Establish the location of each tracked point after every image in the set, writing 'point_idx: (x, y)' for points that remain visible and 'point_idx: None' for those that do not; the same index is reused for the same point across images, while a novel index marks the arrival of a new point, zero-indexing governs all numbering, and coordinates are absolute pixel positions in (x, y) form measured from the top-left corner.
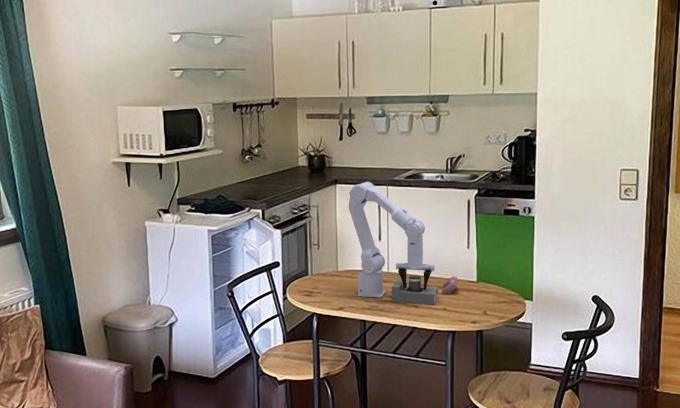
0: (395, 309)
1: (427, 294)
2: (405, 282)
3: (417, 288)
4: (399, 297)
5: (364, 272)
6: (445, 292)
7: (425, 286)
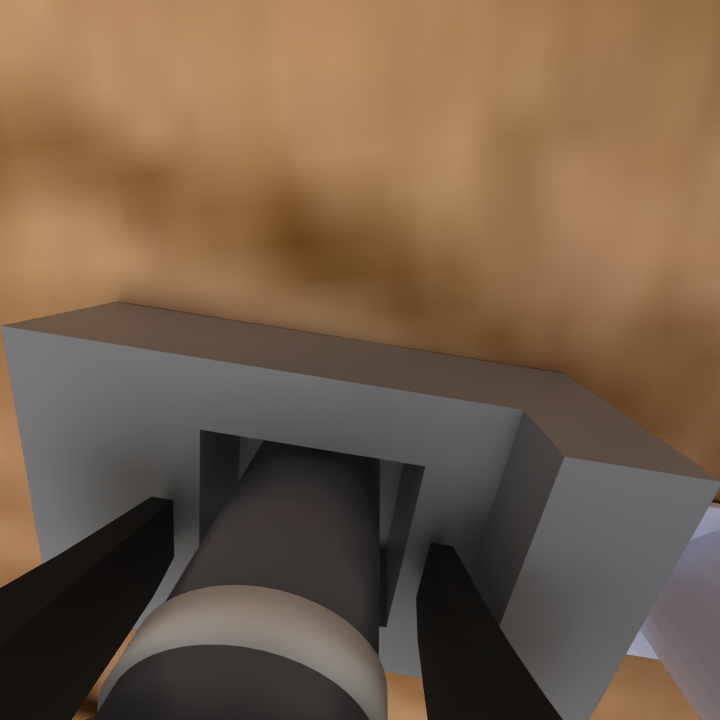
0: (550, 69)
1: (102, 338)
2: (444, 644)
3: (247, 492)
4: (498, 380)
5: None
6: None
7: (110, 524)
